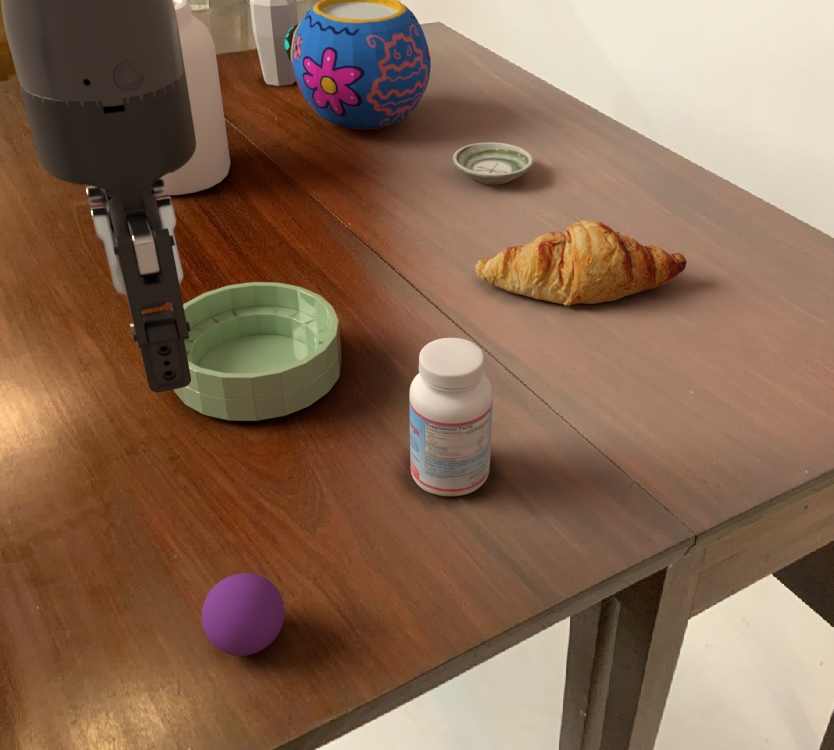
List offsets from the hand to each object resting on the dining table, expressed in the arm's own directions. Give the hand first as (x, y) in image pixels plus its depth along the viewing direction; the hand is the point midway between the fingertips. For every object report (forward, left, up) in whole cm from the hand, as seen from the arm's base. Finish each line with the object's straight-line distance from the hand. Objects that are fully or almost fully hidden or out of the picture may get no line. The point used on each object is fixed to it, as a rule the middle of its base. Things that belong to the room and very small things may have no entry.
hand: (159, 344), depth 56 cm
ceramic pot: (+29, +73, -18) cm, 80 cm away
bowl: (+7, +21, -18) cm, 28 cm away
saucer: (+40, +53, -18) cm, 68 cm away
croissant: (+40, +27, -18) cm, 51 cm away
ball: (+2, -7, -16) cm, 18 cm away
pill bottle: (+19, +4, -18) cm, 27 cm away
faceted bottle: (+21, +91, -18) cm, 95 cm away
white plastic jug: (+4, +63, -18) cm, 65 cm away
